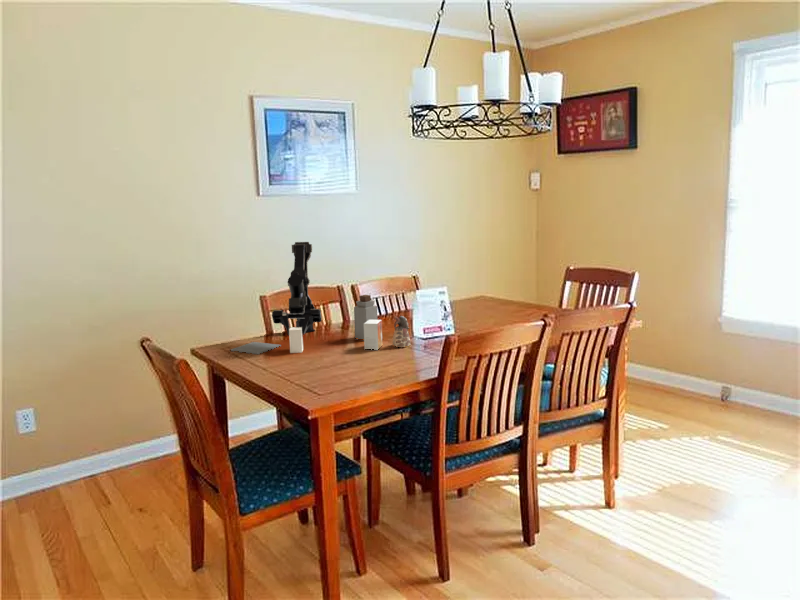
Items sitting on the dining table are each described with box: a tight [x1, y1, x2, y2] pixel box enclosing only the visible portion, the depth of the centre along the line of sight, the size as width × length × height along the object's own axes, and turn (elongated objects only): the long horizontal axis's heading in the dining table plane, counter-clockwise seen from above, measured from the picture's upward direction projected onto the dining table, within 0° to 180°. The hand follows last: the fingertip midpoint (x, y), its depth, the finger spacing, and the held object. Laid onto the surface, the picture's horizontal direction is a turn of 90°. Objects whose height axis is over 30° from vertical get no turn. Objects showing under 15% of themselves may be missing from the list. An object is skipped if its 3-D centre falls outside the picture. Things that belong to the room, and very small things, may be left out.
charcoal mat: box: [230, 341, 282, 355], centre depth 250 cm, size 14×14×1 cm
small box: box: [363, 319, 384, 351], centre depth 246 cm, size 8×6×10 cm
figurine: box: [392, 315, 412, 348], centre depth 248 cm, size 7×7×12 cm
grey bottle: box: [353, 294, 379, 340], centre depth 261 cm, size 7×7×18 cm
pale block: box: [288, 326, 304, 354], centre depth 244 cm, size 4×4×9 cm
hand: (296, 334), depth 243 cm, fingers open, 5 cm apart
